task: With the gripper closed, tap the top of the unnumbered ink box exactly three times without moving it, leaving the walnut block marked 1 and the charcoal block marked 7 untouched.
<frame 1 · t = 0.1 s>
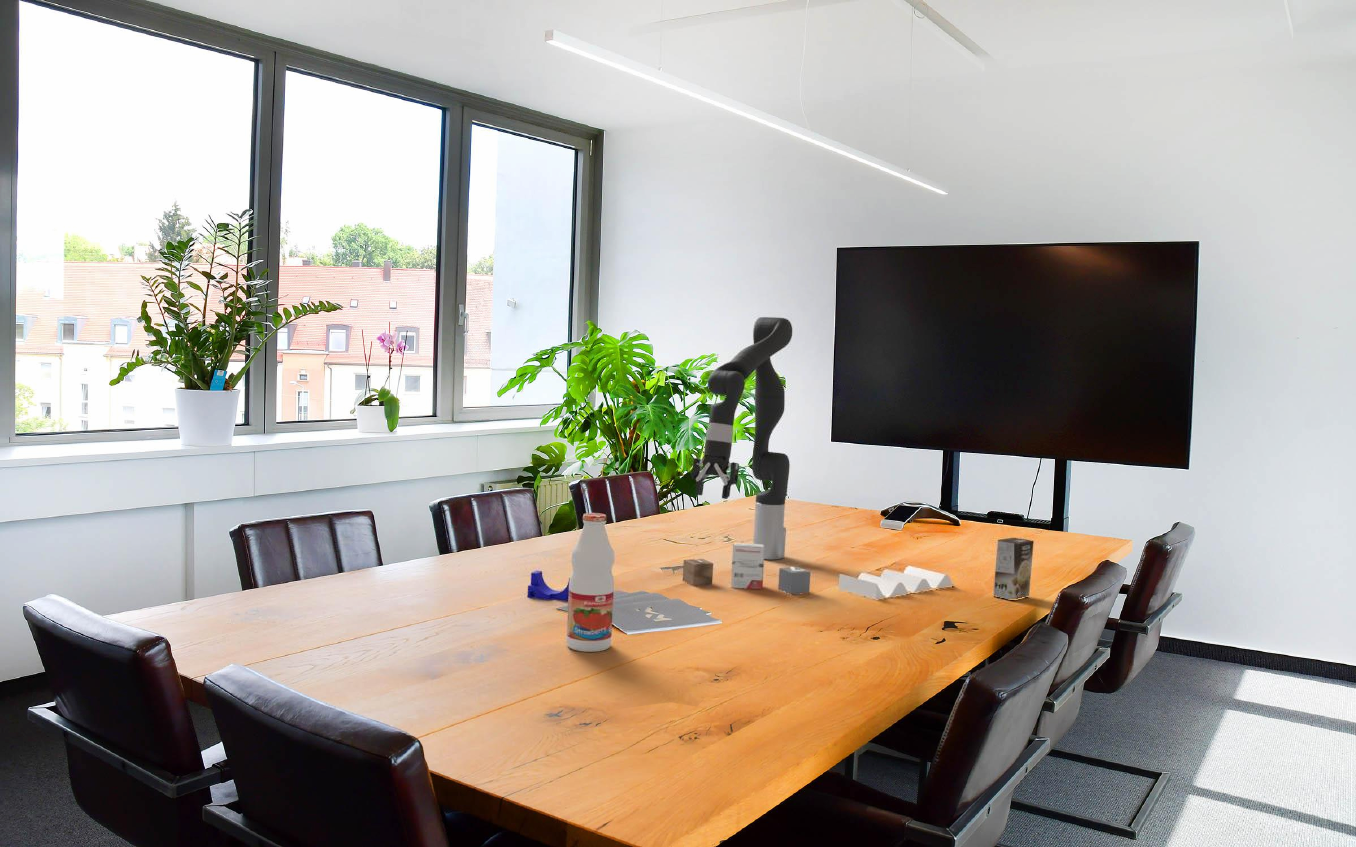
hand: (711, 496, 280), 22 cm above the table, tool pointing down, fingers open, 8 cm apart
ink box: (746, 587, 270), on the table
walnut block 1: (697, 583, 272), on the table
coffee box: (1011, 598, 274), on the table
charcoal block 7: (793, 591, 267), on the table
white taco holder: (897, 591, 278), on the table
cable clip: (553, 599, 247), on the table
fruit juice: (588, 647, 208), on the table
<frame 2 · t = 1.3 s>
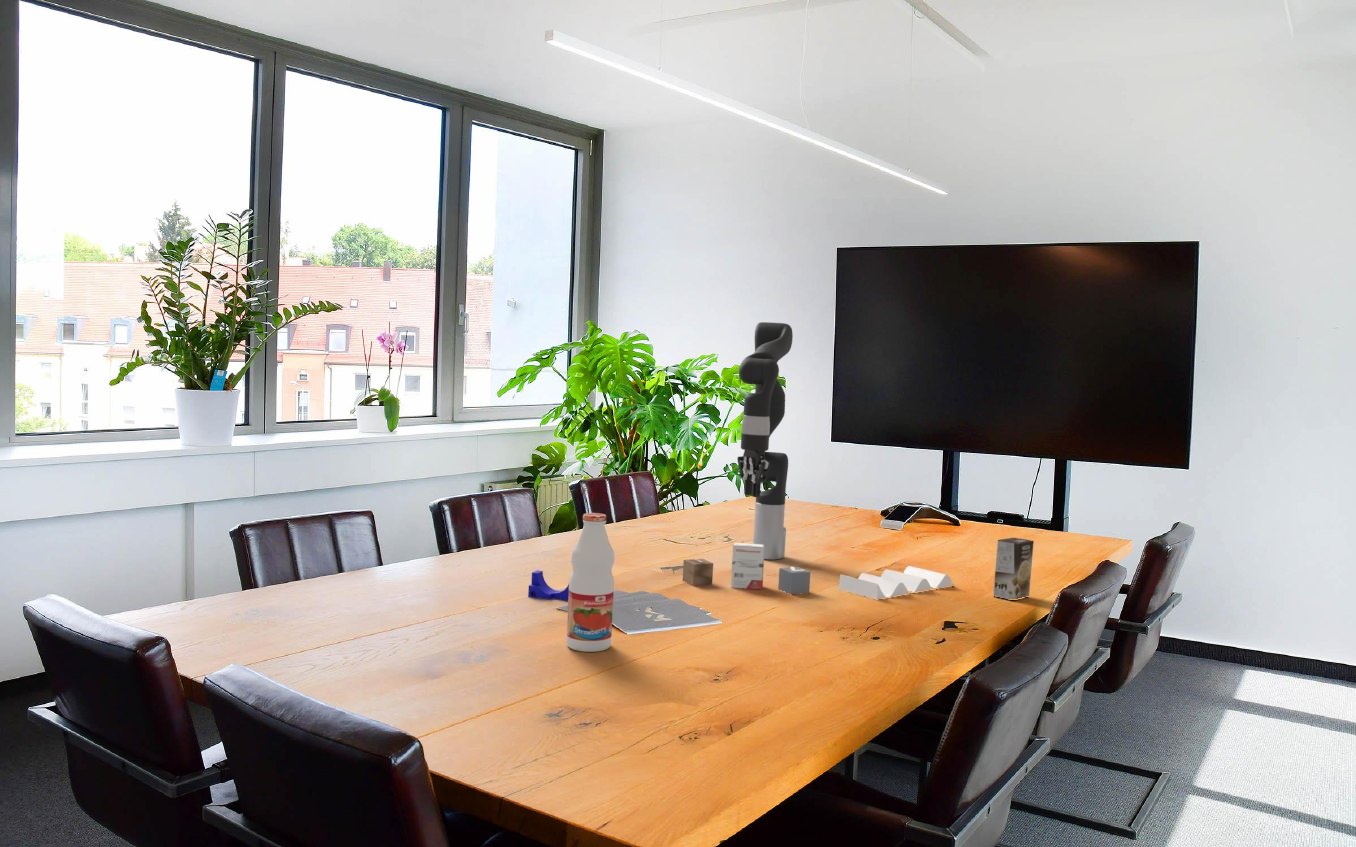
hand: (751, 495, 268), 25 cm above the table, tool pointing down, fingers open, 3 cm apart
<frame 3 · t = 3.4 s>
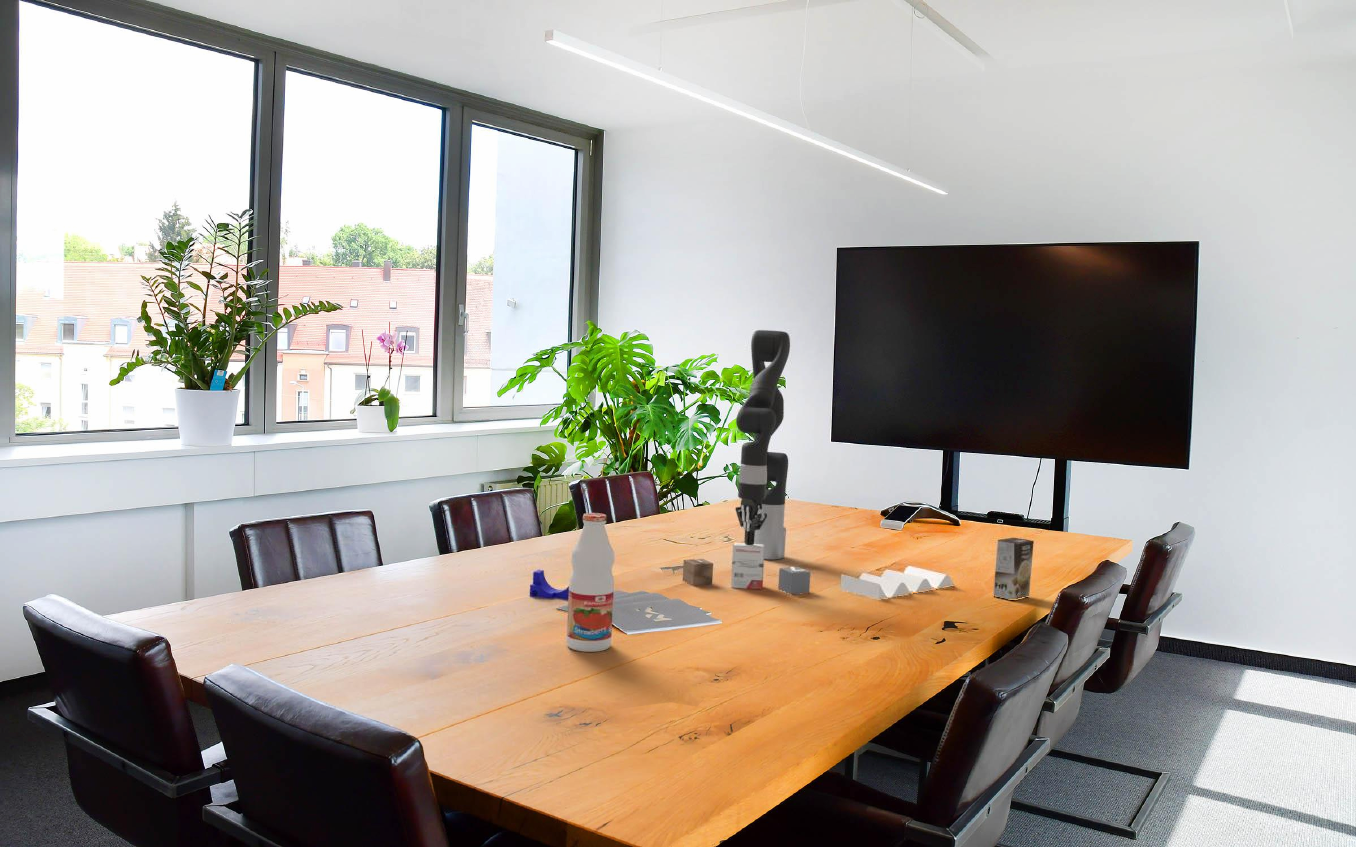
hand: (749, 544, 269), 12 cm above the table, tool pointing down, fingers closed
ink box: (746, 587, 270), on the table, touching gripper
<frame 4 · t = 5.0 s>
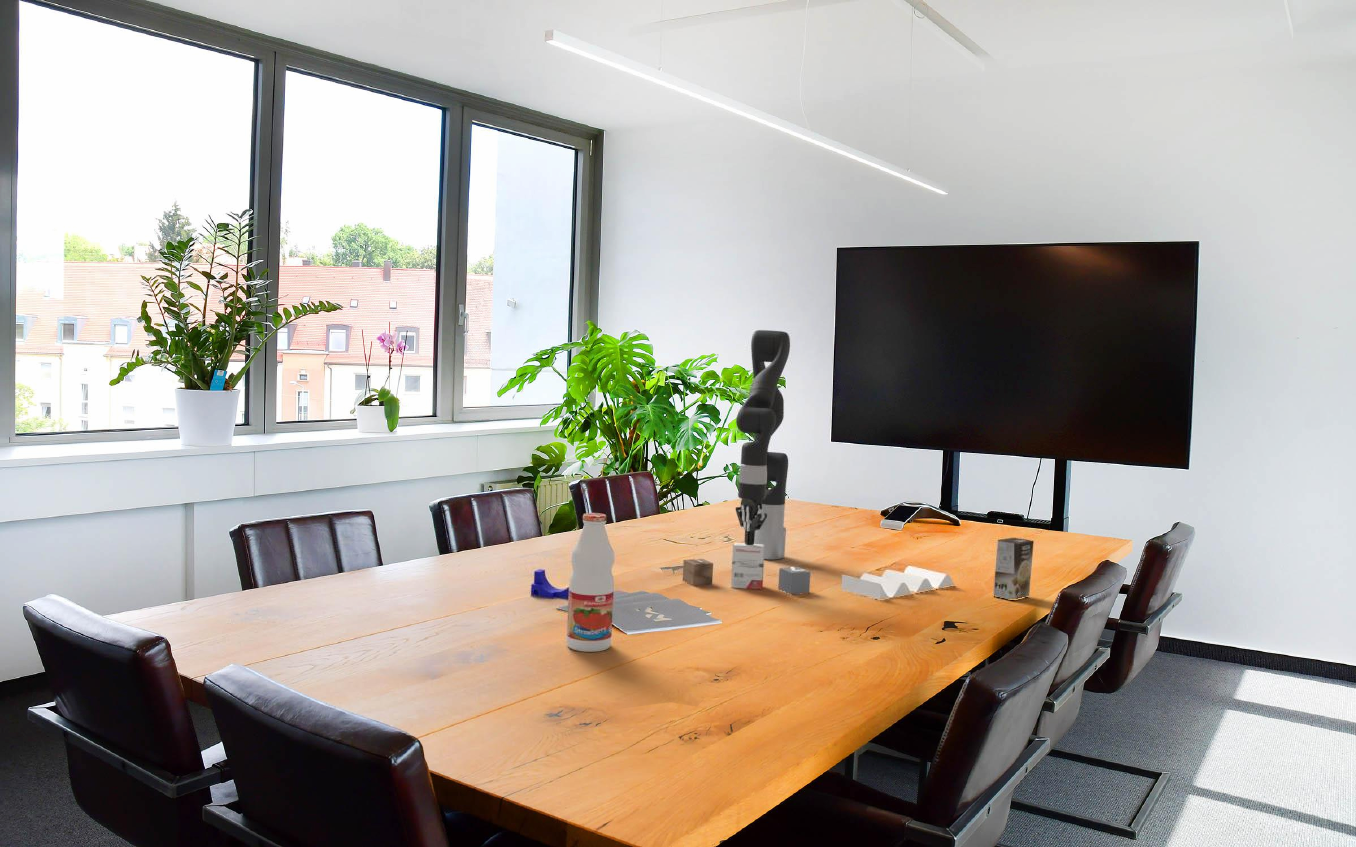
hand: (749, 544, 269), 12 cm above the table, tool pointing down, fingers closed
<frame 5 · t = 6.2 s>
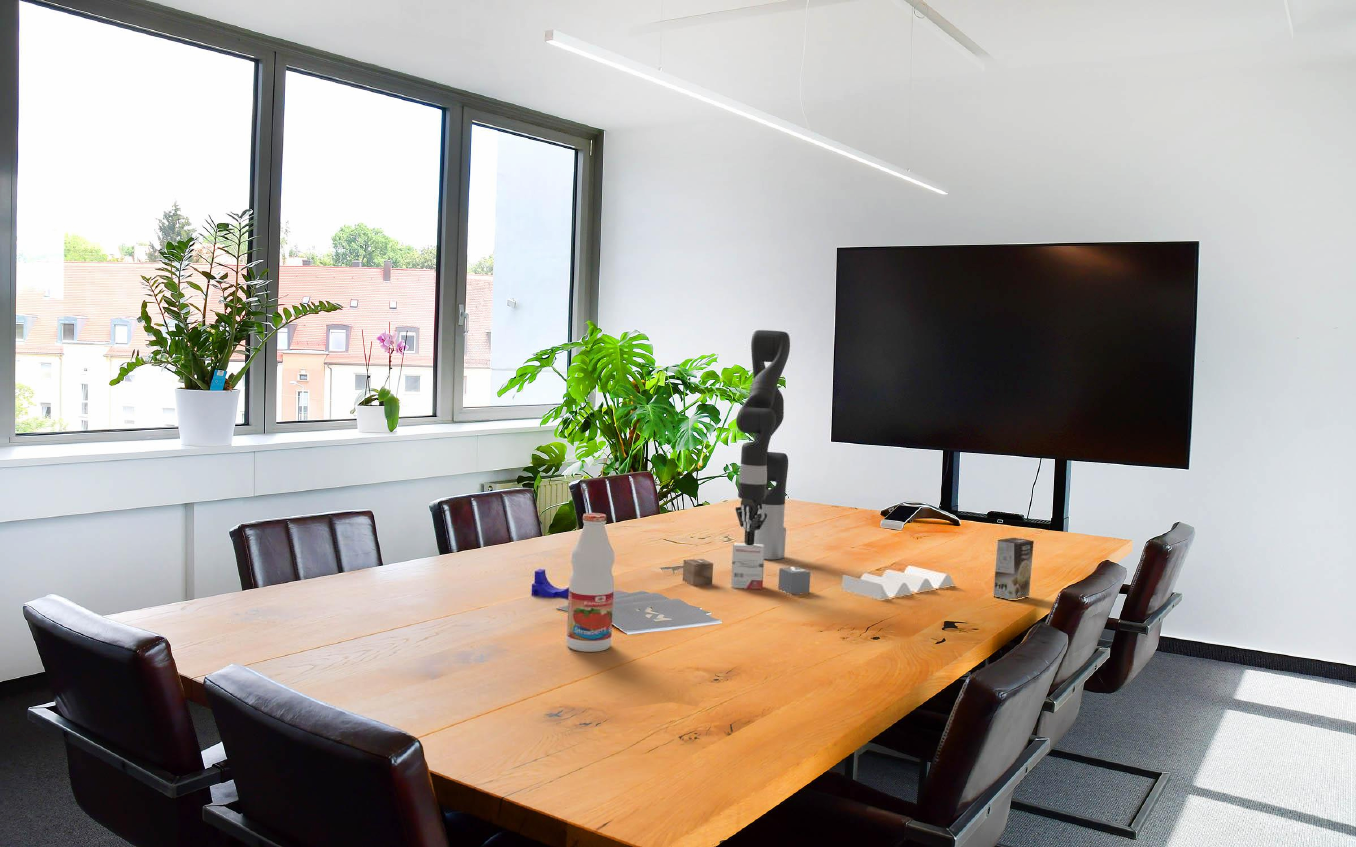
hand: (749, 544, 269), 12 cm above the table, tool pointing down, fingers closed
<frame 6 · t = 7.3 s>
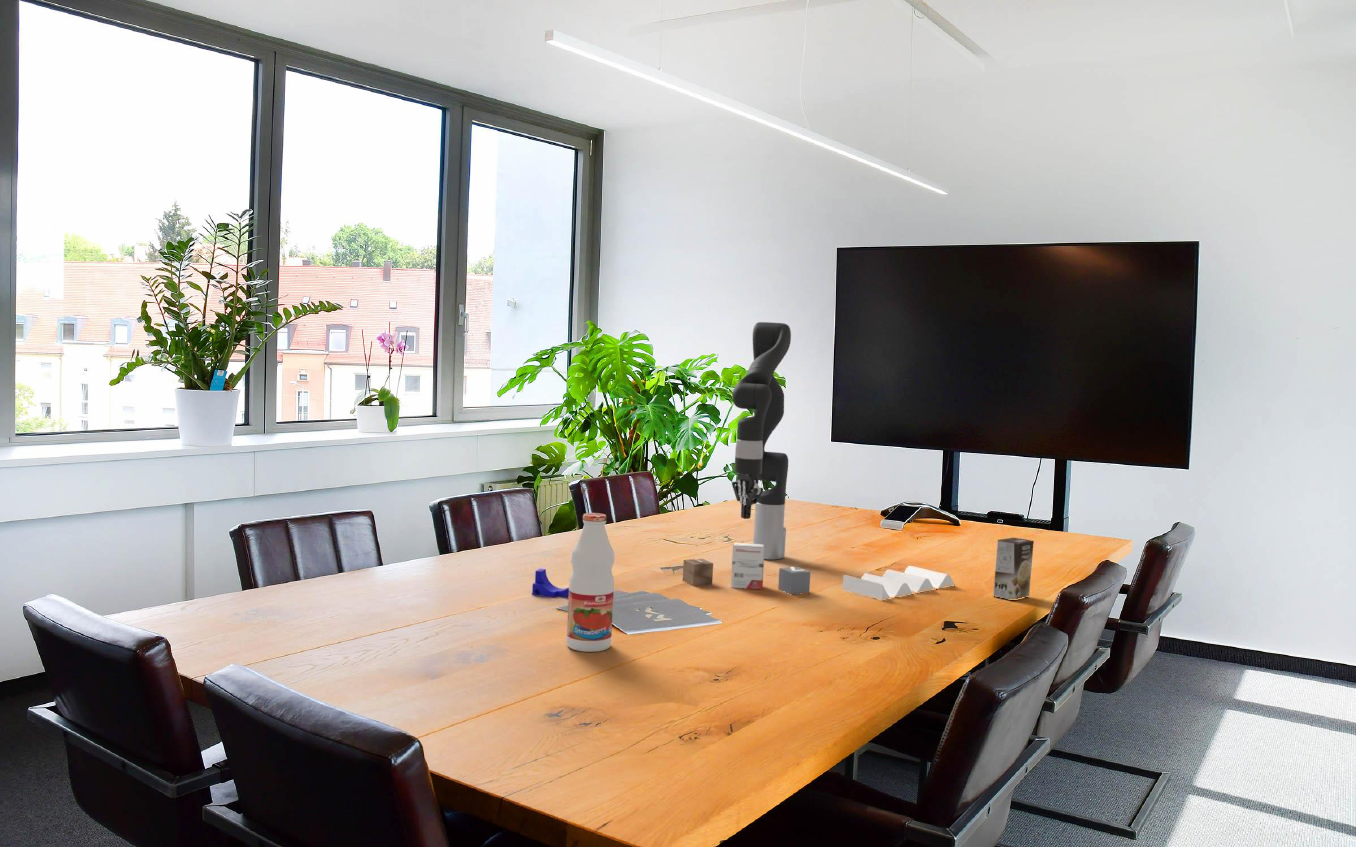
hand: (745, 518, 273), 18 cm above the table, tool pointing down, fingers closed
ink box: (746, 587, 270), on the table
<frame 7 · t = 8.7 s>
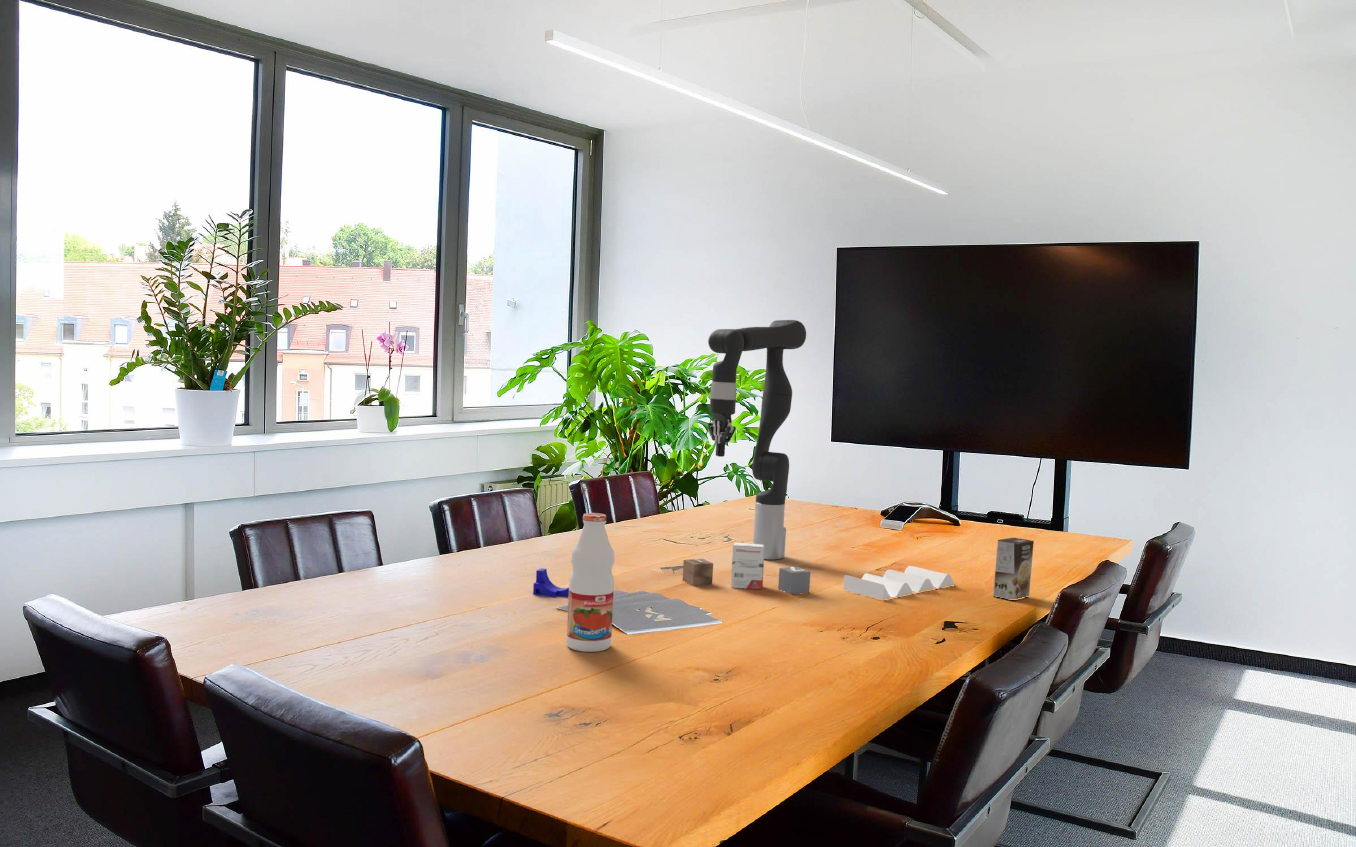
hand: (719, 456, 291), 33 cm above the table, tool pointing down, fingers closed
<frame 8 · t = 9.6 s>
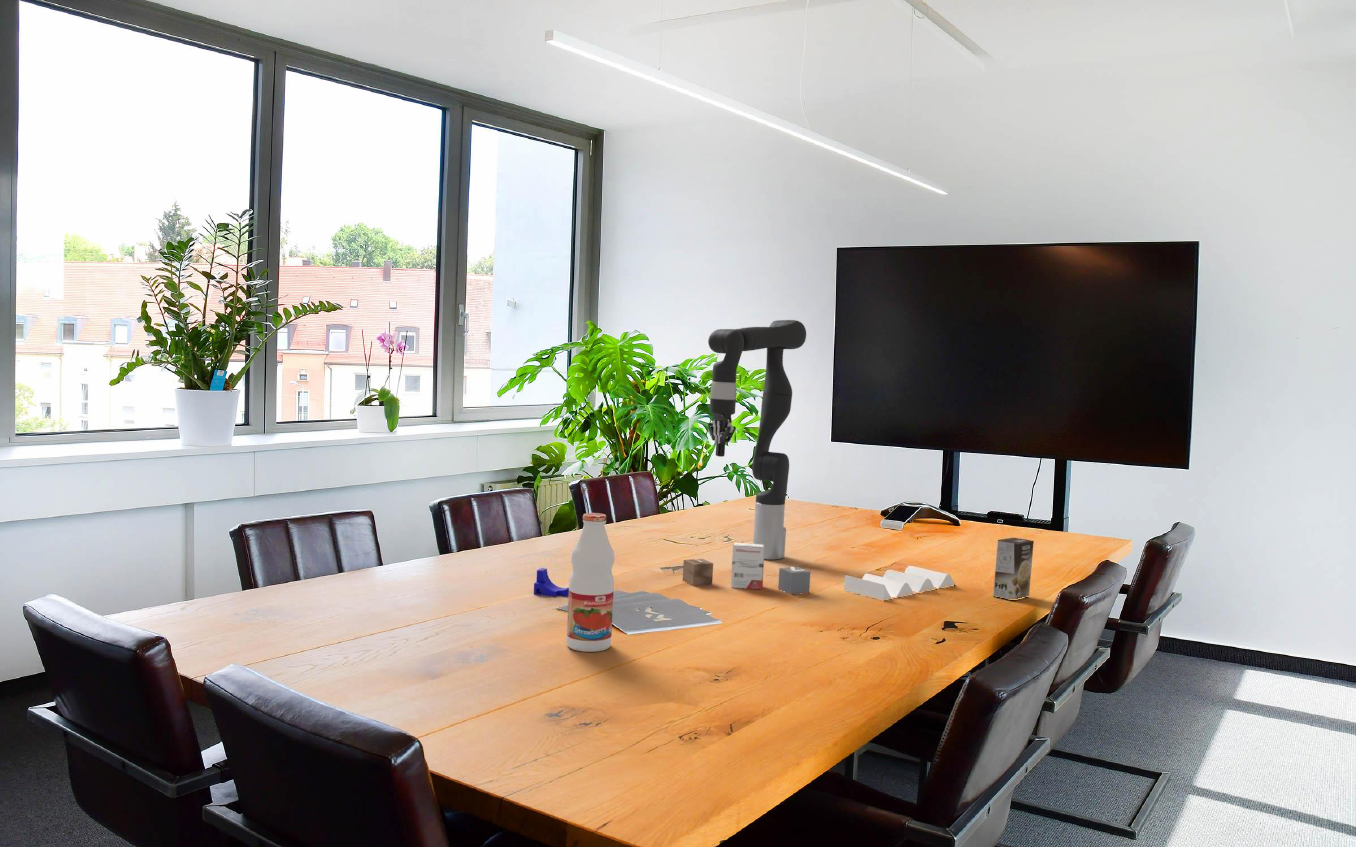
hand: (719, 456, 291), 33 cm above the table, tool pointing down, fingers closed
at the end: ink box moved 0.3 cm from its start; walnut block 1 moved 0.1 cm from its start; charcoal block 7 moved 0.1 cm from its start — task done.
